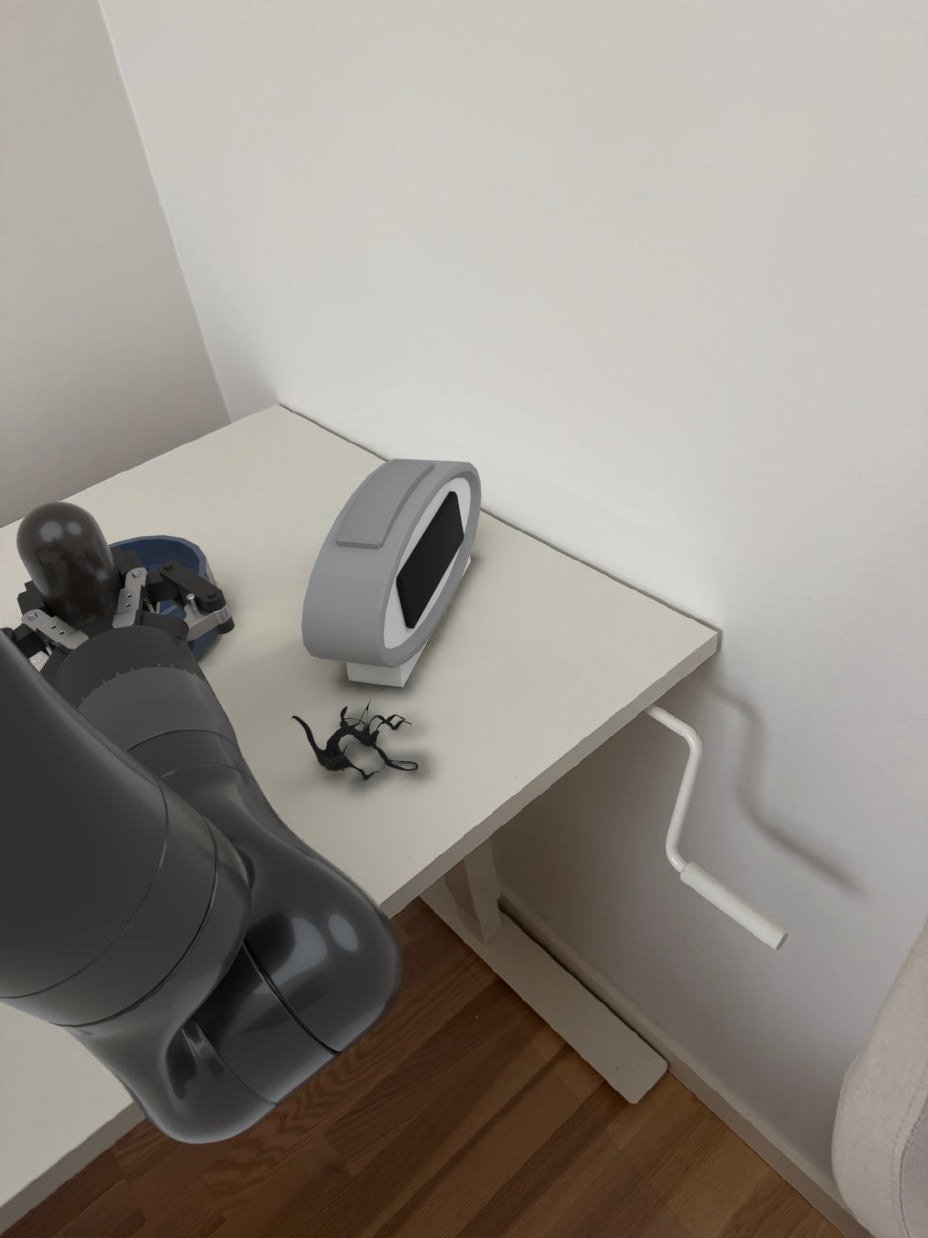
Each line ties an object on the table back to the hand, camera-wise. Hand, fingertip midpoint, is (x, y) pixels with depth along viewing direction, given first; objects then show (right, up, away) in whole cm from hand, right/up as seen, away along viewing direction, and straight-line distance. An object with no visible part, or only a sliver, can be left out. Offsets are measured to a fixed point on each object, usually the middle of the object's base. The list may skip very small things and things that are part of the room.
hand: (78, 576), depth 59 cm
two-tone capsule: (+2, -7, +2) cm, 7 cm away
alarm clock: (+20, -3, +21) cm, 29 cm away
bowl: (-4, -4, +24) cm, 25 cm away
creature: (+17, -13, +10) cm, 23 cm away
